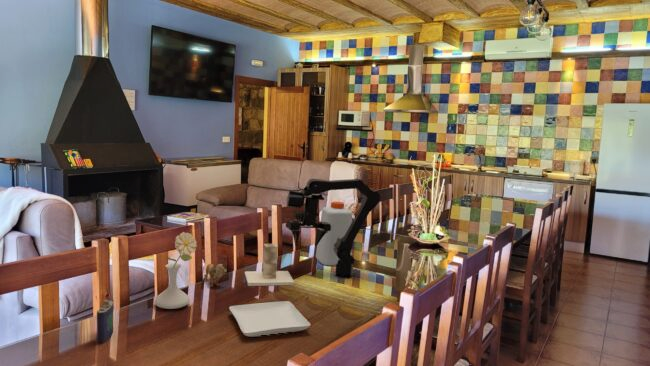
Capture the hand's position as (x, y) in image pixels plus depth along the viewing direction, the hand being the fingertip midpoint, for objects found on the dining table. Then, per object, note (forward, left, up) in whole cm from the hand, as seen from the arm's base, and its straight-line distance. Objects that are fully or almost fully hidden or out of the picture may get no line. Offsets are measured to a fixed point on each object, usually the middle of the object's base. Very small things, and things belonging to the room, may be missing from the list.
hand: (305, 245), depth 202 cm
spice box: (+10, +13, -11) cm, 20 cm away
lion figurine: (+26, +28, -13) cm, 40 cm away
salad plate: (-9, +51, -13) cm, 53 cm away
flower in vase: (+25, +53, -13) cm, 60 cm away
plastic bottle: (-4, -26, -13) cm, 29 cm away
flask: (+27, +81, -13) cm, 86 cm away
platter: (+10, +13, -13) cm, 21 cm away
